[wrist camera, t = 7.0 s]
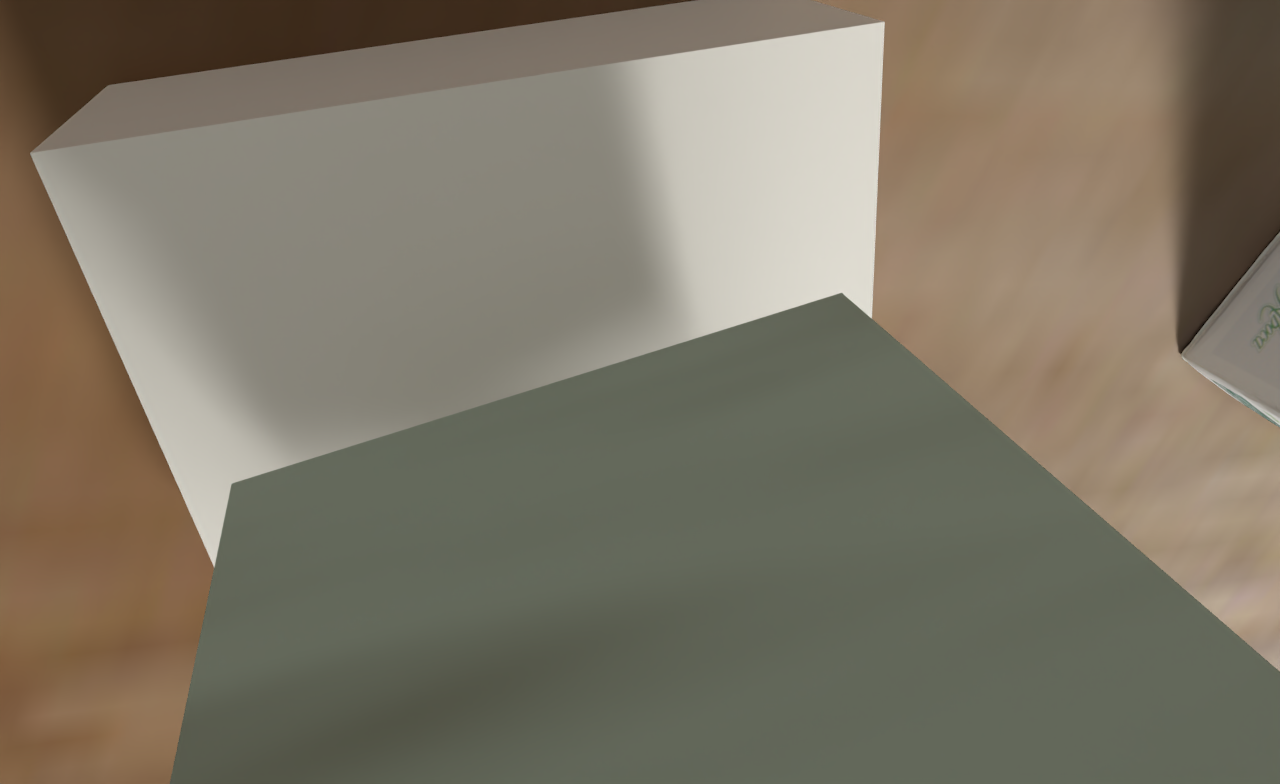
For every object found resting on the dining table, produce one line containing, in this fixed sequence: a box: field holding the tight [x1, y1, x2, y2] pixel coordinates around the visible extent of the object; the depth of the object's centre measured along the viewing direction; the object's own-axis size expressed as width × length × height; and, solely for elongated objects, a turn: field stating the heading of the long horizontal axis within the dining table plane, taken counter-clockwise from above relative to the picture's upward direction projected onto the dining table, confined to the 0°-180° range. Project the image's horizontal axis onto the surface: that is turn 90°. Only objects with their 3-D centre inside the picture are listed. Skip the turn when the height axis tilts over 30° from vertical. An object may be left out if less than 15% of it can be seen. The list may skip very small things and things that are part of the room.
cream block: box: [30, 0, 884, 567], centre depth 15 cm, size 10×10×4 cm
